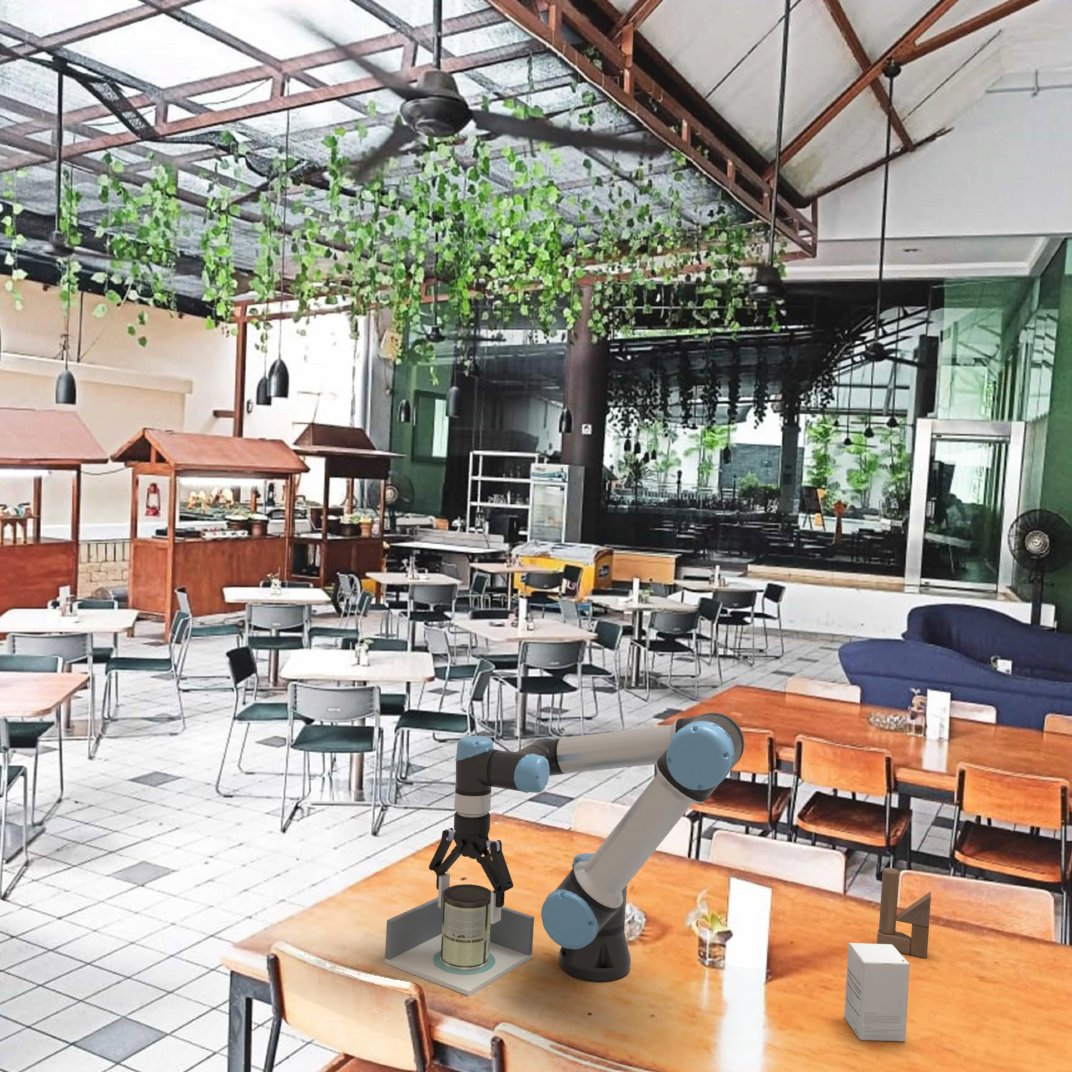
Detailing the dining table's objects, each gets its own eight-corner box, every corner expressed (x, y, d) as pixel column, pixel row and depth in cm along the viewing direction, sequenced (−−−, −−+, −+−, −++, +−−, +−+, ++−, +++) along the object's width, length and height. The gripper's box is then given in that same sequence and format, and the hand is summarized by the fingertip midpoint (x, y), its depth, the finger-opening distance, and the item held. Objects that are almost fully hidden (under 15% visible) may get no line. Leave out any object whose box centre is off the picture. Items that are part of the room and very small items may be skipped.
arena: (531, 958, 217) (534, 916, 216) (468, 996, 198) (471, 950, 198) (451, 929, 229) (453, 890, 229) (384, 963, 210) (387, 920, 210)
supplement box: (888, 1018, 199) (893, 943, 199) (906, 1042, 190) (911, 963, 190) (842, 1016, 199) (847, 941, 198) (858, 1040, 190) (863, 961, 189)
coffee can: (432, 952, 214) (436, 886, 214) (478, 946, 218) (481, 881, 218) (449, 974, 205) (453, 905, 204) (496, 967, 209) (500, 899, 209)
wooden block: (926, 959, 227) (932, 879, 227) (876, 949, 231) (881, 870, 231) (927, 952, 231) (932, 874, 230) (877, 942, 235) (882, 866, 234)
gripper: (532, 819, 207) (528, 922, 207) (437, 797, 221) (434, 894, 221) (511, 828, 201) (507, 934, 201) (414, 804, 215) (411, 904, 215)
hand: (468, 913), depth 211 cm, fingers open, 13 cm apart
